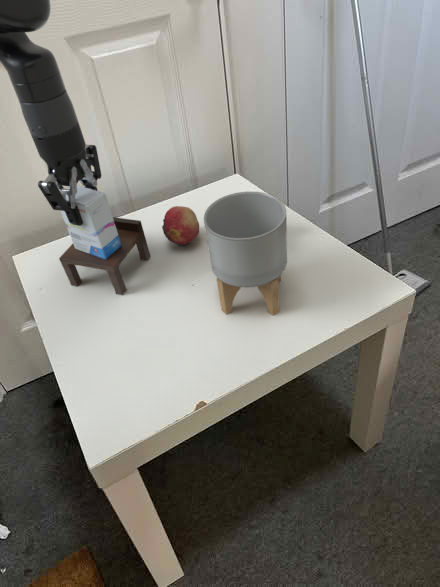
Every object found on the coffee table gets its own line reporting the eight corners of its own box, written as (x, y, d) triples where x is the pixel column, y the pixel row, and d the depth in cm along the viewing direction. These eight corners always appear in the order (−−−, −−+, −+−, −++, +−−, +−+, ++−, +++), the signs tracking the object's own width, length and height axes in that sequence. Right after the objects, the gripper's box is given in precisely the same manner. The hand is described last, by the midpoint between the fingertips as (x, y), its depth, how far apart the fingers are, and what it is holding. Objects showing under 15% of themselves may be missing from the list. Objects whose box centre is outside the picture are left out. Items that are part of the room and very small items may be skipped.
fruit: (203, 249, 95) (198, 217, 90) (167, 256, 95) (159, 224, 89) (199, 228, 101) (194, 197, 95) (165, 234, 101) (157, 203, 95)
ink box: (123, 245, 88) (106, 191, 79) (106, 260, 85) (86, 206, 77) (92, 234, 91) (72, 181, 83) (74, 248, 89) (51, 195, 80)
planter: (302, 295, 82) (304, 212, 70) (247, 332, 77) (238, 250, 65) (255, 262, 90) (249, 182, 78) (203, 294, 86) (187, 214, 73)
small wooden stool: (123, 295, 88) (110, 259, 82) (71, 285, 92) (55, 250, 85) (150, 256, 96) (140, 220, 89) (101, 248, 99) (89, 213, 93)
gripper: (60, 104, 77) (90, 191, 89) (4, 143, 68) (46, 235, 80) (97, 105, 75) (124, 195, 86) (45, 146, 65) (82, 241, 77)
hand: (86, 214), depth 83 cm, fingers closed on ink box, 5 cm apart
